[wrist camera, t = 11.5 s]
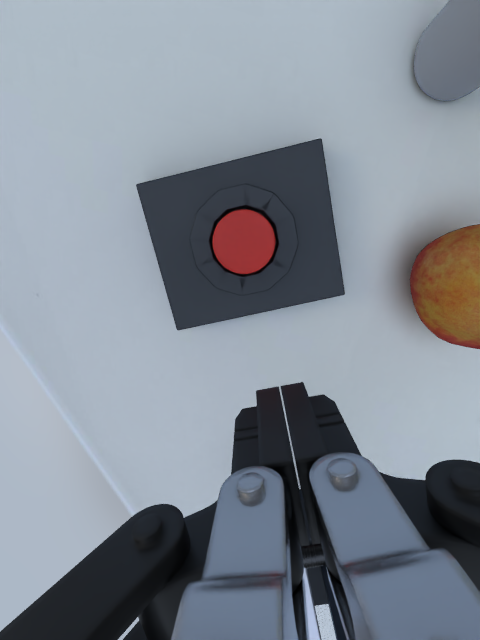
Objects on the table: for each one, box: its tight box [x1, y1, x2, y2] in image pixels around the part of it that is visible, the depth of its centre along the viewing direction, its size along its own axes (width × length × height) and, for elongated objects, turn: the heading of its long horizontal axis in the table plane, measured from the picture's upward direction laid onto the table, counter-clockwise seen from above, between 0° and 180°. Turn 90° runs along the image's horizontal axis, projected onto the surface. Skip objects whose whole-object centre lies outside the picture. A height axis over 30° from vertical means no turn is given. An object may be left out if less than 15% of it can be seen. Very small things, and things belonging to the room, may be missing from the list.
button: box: [212, 209, 275, 274], centre depth 20 cm, size 4×4×2 cm
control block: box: [136, 139, 345, 330], centre depth 22 cm, size 12×10×4 cm
